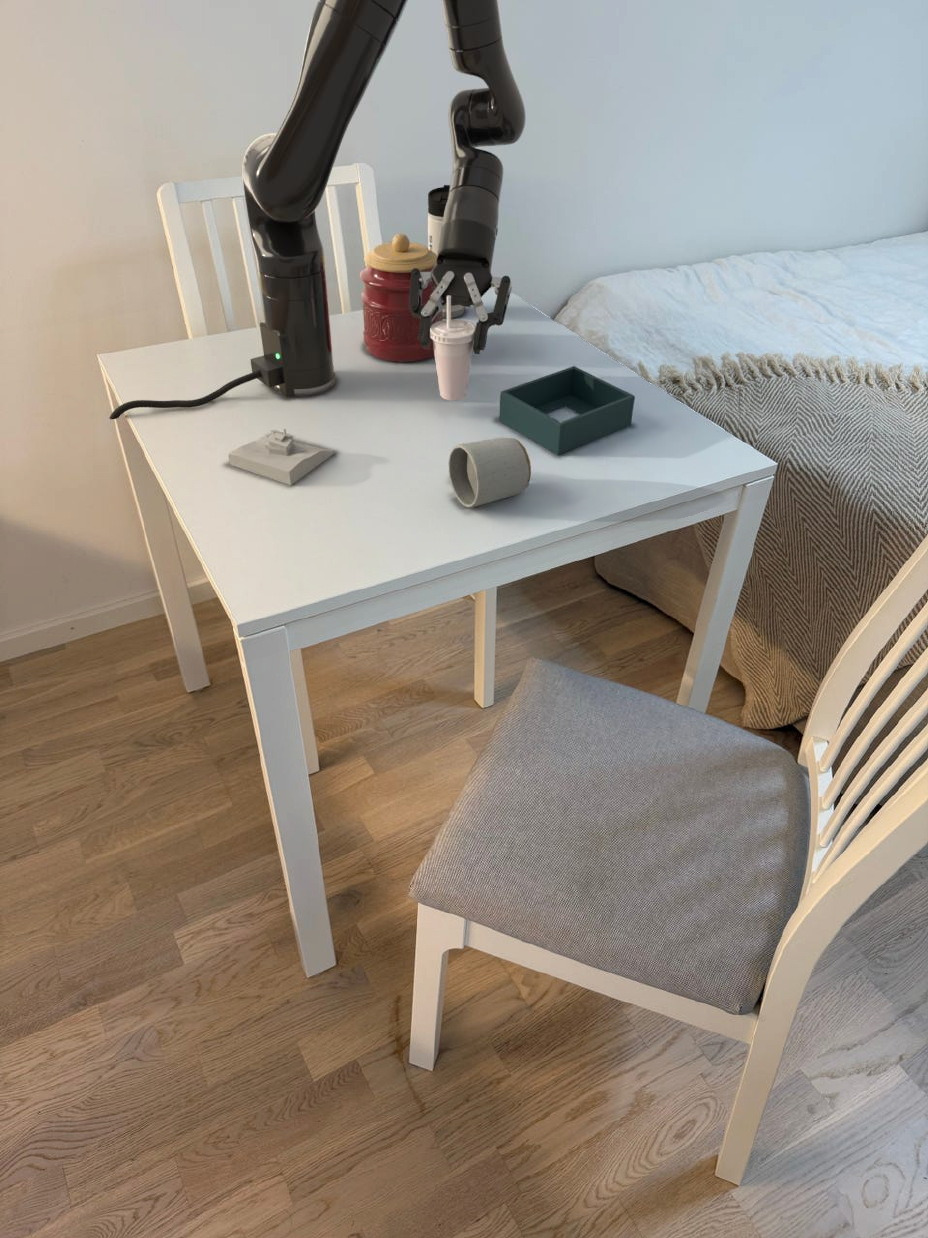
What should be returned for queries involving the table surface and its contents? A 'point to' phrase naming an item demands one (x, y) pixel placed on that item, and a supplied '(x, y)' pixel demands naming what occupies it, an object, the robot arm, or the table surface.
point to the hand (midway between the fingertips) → (450, 349)
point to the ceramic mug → (488, 470)
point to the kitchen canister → (395, 300)
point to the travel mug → (439, 231)
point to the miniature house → (278, 457)
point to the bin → (576, 390)
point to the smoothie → (452, 354)
